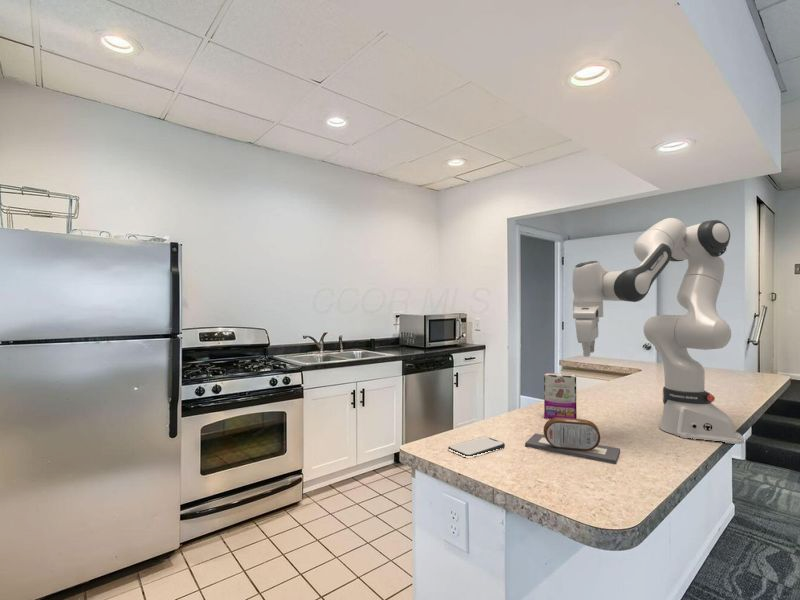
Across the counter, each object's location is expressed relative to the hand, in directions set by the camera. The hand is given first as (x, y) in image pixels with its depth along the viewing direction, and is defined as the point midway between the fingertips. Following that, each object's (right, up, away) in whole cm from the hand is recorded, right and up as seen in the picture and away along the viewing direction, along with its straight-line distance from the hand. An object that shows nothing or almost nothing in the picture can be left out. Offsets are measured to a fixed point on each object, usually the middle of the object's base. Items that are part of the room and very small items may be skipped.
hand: (589, 354), depth 132 cm
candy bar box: (-2, -27, +20) cm, 33 cm away
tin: (-12, -25, -15) cm, 32 cm away
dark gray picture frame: (-11, -26, -13) cm, 31 cm away
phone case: (-39, -26, -13) cm, 49 cm away
